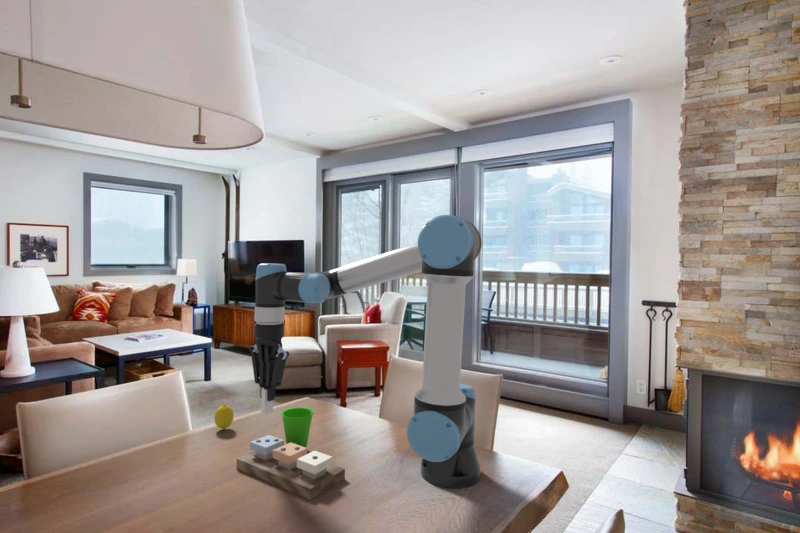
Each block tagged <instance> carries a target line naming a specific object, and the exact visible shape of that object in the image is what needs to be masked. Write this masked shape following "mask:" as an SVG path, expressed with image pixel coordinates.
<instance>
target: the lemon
mask: <svg viewBox="0 0 800 533" xmlns="http://www.w3.org/2000/svg"><path fill="white" fill-rule="evenodd" d="M233 421H234V412H233V409H232V407H231V406H229V405H227V404H224V403H223V404H222V405H220V406H219V407H217V409H216V410H215V414H214V424H215V425H216V426H217V427H218V428H219V429H221V430H223V431H225V430H226V429H227V428H229V427H230V426H231V425H232V423H233Z"/></svg>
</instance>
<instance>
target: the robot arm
mask: <svg viewBox="0 0 800 533" xmlns="http://www.w3.org/2000/svg"><path fill="white" fill-rule="evenodd" d="M482 245H483V242H482V236H481V233H480V231H479V230H478V228H477V227H476V226H475V225H474V224H472V223H471V222H470V221H468V220H466V219H463V218H462V217H460V216H458V215H452V214H442V215H436V216H434V217H432V218H431V219H429V220H428V221H426V222H425V224H424V225H423V226H422V227H421V229H420V231H419V233H418V236H417V242H415V243H412V244H409V245H405V246H403V247H402V246H401V247H399V248H395V249H393V250H392V249H391V250H390V251H386V252H383V253H381V254H377V255H375V256H371V257H368V258H365V259H362V260H359V261H356V262H353V263H349V264H346V265H343V266H341V267H337V268H333V269H330V270H327V271H319V272H297V271H296V272H291V271H287V266H286V264H285V263H269V262H268V263H267V262H265V263H259V264H258V265H257V266H256V273H255V279H254V280H255V281H254V282H255V304H254V318H253V319H254V322H255V323H254V327H253V328H254V329H253V330H254V331H253V336H254V338H255V339H256V341H255V344H254V345H250V346H249V348H248V350H249V352H250V356H251V363H252V372H253V378H254V379H253V380H254V384H258V385H259V386H258V387H259V388H260V389H259V390H260V393H259V394H260V401H261V402H260V413H261V414H264V415H265V414H269V413H272V412H274V400H275V391H276V388H278V387H281V386H282V383H283V382H282V381H283V376H284V373H285V367H286V362H287V359H288V358H289V356H290V351H285V350H284V348H283V343H282V339H283V338H284V336H285V323H283V322H284V321H285V312H286V310H285V308H286V307H285V306H286V302H296V303H304V304H305V303H306V304H309V305H310V304H323V303H325V301H326V300H330V299H333V300H334V299H336V298H340V297H342V296H344V295H347V294H349V293H353V292H356V291H359V290H363V289H367V288H370V287H373V286H377V285H380V284H383V283H387V282H391V281H394V280H396V279H397V280H398V279H400V278H405V277H407V276H411V275H415V274H417V273H421V276H422V277H423V278H424V279H425V280H426V282H427V291H426V308H425V309H426V310H425V325H424V326H425V327H424V342H423V363H422V376H421V377H422V383H421V387H420V388H418V389H417V390H416V391H415V392H414V400H413V401H414V402H413V403H414V404H413V415H412V417H411V418H410V419H409V422H408V425H407V429H406V436H407V437H406V438H407V440H408V443H409V445H410V447H411V449H412V450H413V451H414V452H415V453H416V455H418V456H419V457H420V458H422V459H421V463H420V474H421V476H422V478H423V479H424V480H426V481H427V482H429V483H431V484H433V485H435V486H439V487H442V488H443V487H444V488H451V489H459V488H460V489H462V488H467V487H471V486H473V485H475V484H477V483H478V482H479V480H480V479H481V465H480V462H479V459H478V455H477V451H476V448H475V427H476V426H475V425H476V424H475V423H476V421H475V420H476V419H475V418H476V417H475V416H476V401H477V397H476V391H475V390H476V389H475V388H474V387H472V386H471V385H469V384H464V383H461V375H462V374H461V372H462V360H463V359H462V358H463V357H462V356H463V341H464V340H463V338H464V325H465V324H464V323H465V307H466V289H467V288H466V287H467V284H468V283H469V282H470V281H471V280H472V279H474V268H475V260H476V259H477V258H478V257H479V255H480V253H481V250H482Z"/></svg>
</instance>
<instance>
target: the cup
mask: <svg viewBox="0 0 800 533" xmlns="http://www.w3.org/2000/svg"><path fill="white" fill-rule="evenodd" d="M314 413H315V411H314V409H312V408H310V407H308V406H307V407H305V406H296V407H295V406H294V407H290V408H286V409H284V410H282V411H281V413H280V415H281V417H282V422H283V428H284V429H283V430H284V437H285V445H286V444H288V443H290V442H291V443H294V444H297V445H300V446H303V447H306V448H307V449H308V442H309V441H308V440H309V435H310V431H311V424H312V418H313V416H314Z"/></svg>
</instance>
